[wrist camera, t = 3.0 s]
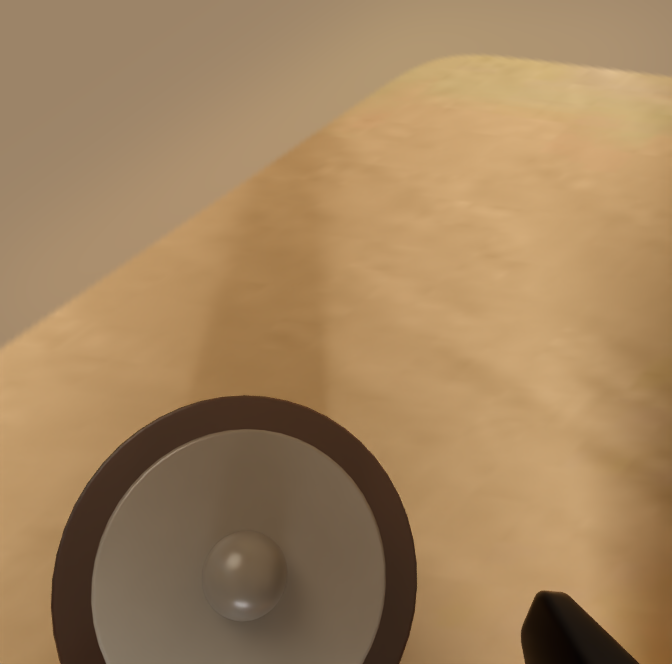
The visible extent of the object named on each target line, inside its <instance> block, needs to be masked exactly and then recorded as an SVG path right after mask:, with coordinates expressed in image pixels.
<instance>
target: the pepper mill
mask: <svg viewBox="0 0 672 664" xmlns="http://www.w3.org/2000/svg"><path fill="white" fill-rule="evenodd" d="M416 592H417V563H416V555H415V548H414V541H413V536H412V532H411V529H410V525H409V521H408V517H407V514H406V512H405V509H404V507H403V504H402V502H401V499H400V497H399V494H398V493H397V491H396V489H395V487H394V485H393V483H392V482H391V480H390V478H389V476H388V475H387V473H386V472H385V470H384V469H383V468H382V466H381V465H380V463H379V462H378V461H377V459H376V458H375V457H374V456H373V455H372V453H371V452H370V451H369V450H368V449H367V448H366V447H365V446H364V445H363V444H362V443H361V442H360V441H359V440H358V439H357V438H356V437H354V436H353V435H352V434H351V433H350V432H349V431H347V430H346V429H345V428H344V427H342V426H340V425H339V424H337V423H336V422H334V421H333V420H331V419H330V418H328V417H327V416H324V415H322V414H320V413H318V412H316V411H314V410H312V409H310V408H308V407H305V406H302V405H299V404H296V403H293V402H290V401H286V400H281V399H276V398H270V397H263V396H246V395H243V396H228V397H219V398H214V399H209V400H204V401H200V402H197V403H194V404H191V405H187V406H184V407H181V408H179V409H177V410H174V411H172V412H170V413H168V414H166V415H164V416H162V417H159V418H158V419H156V420H154V421H153V422H151V423H150V424H148V425H146V426H145V427H143V428H142V429H140V430H139V431H137V432H136V433H135V434H134V435H132V436H131V437H130V438H129V439H127V440H126V441H125V442H124V443H122V444H121V445H120V446H119V447H118V448H117V449H116V450H115V451H114V452H113V453H112V454H111V455H110V456H109V457H108V458H107V459H106V460H105V461H104V462H103V464H102V465H101V466H100V467H99V469H98V470H97V471H96V473H95V474H94V475H93V477H92V478H91V479H90V481H89V482H88V483H87V485H86V487H85V488H84V490H83V492H82V493H81V495H80V497H79V498H78V500H77V502H76V503H75V505H74V507H73V510H72V512H71V514H70V517H69V519H68V521H67V523H66V526H65V528H64V531H63V534H62V538H61V541H60V544H59V548H58V551H57V554H56V560H55V566H54V572H53V578H52V594H51V613H52V624H53V635H54V639H55V643H56V648H57V652H58V656H59V661H60V663H61V664H399V663H400V661H401V658H402V655H403V652H404V650H405V647H406V644H407V641H408V638H409V635H410V630H411V625H412V621H413V616H414V612H415V602H416Z"/></svg>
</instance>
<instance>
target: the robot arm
mask: <svg viewBox="0 0 672 664" xmlns="http://www.w3.org/2000/svg"><path fill="white" fill-rule="evenodd" d="M521 643H522V649H523V654H524V659H525V664H639V663H638V662H637V661H636V660H635V659H634V658H633V657H632V656H631V655H630V654H629V653H628V652H627V651H626V650H625V649H624V648H623V647H622V646H621V645H620V644H619V643H618V642H617V641H616V640H614V639H613V638H612V637H611V636H610V635H609V634H608V633H607V632H606V631H605V630H604V629H603V628H602V627H601V626H600V625H599V624H598V623H597V622H596V621H595V620H594V619H593V618H592V617H591V616H590V615H589V614H588V613H587V612H585V611H584V610H583V609H582V608H581V607H580V606H579V605H578V604H577V603H576V602H575V601H574V600H573V599H572V598H571V597H570V596H569V595H567V594H565V593H563V592H554V591H540V592H538V593H537V594H536V596H535V598H534V600H533V602H532V605H531V607H530V609H529V611H528V614H527V616H526V618H525V621H524V623H523V626H522V630H521Z"/></svg>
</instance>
